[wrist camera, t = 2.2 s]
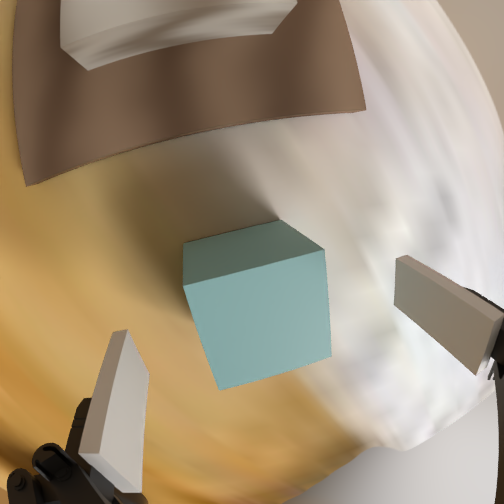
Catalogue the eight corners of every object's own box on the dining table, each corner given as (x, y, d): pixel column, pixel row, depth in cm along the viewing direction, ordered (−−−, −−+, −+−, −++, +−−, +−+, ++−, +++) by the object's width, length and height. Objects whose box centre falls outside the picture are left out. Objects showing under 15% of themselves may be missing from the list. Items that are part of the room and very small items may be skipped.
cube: (207, 328, 19) (219, 390, 13) (183, 243, 17) (182, 286, 11) (293, 304, 20) (331, 356, 14) (281, 219, 18) (324, 249, 12)
